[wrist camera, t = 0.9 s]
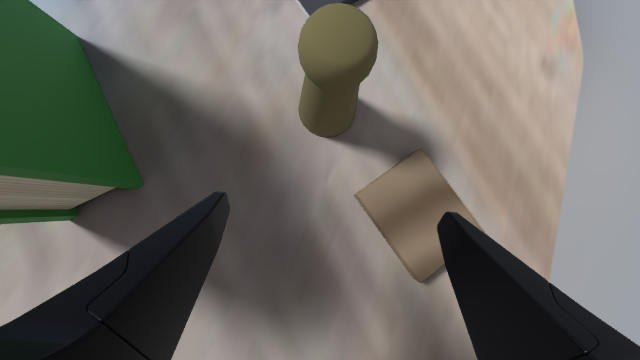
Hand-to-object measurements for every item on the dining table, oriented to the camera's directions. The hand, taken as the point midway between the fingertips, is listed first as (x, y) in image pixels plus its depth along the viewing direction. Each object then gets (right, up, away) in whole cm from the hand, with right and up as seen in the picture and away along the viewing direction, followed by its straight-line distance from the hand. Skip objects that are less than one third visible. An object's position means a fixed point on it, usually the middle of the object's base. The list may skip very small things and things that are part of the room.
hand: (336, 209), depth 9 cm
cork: (0, +9, +15) cm, 17 cm away
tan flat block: (+9, -2, +14) cm, 17 cm away
